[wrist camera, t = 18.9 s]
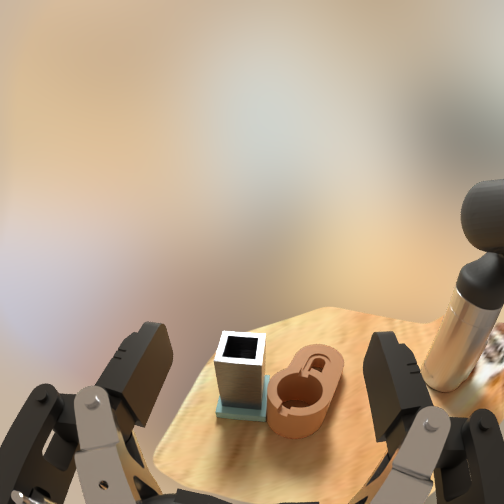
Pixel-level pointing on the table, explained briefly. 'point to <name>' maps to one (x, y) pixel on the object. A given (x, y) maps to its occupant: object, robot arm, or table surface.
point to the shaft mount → (245, 413)
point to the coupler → (241, 369)
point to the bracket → (303, 391)
